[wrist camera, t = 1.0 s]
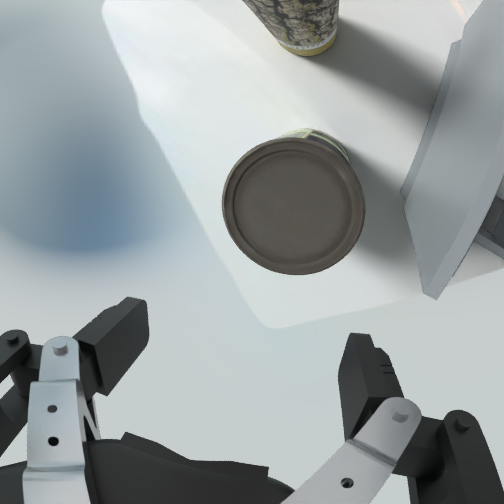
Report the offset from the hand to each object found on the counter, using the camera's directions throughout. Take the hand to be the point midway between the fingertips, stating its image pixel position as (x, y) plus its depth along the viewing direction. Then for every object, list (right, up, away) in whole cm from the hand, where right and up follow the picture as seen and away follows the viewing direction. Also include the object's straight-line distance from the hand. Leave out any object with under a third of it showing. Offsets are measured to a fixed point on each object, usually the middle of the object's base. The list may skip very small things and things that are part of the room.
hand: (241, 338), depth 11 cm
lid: (+15, +12, +2) cm, 19 cm away
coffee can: (+7, +12, +22) cm, 26 cm away
